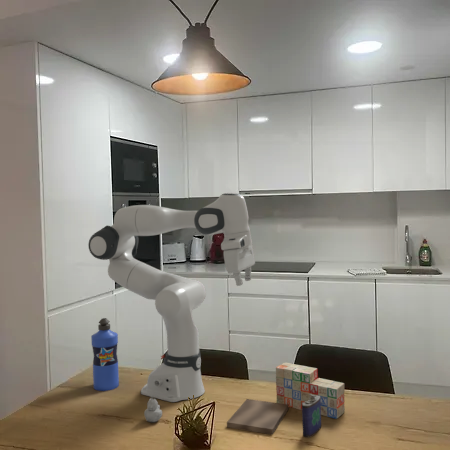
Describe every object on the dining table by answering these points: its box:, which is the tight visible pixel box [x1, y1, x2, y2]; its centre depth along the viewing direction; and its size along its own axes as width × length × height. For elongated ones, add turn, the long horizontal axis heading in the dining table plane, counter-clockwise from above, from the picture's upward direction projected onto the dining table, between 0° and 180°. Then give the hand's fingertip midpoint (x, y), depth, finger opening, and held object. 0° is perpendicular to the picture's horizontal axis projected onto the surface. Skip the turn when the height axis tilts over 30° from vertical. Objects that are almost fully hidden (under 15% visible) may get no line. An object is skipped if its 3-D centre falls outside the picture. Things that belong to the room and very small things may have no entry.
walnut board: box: [226, 398, 289, 435], centre depth 149 cm, size 14×18×2 cm
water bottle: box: [91, 317, 120, 392], centre depth 178 cm, size 9×9×25 cm
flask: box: [301, 394, 322, 438], centre depth 140 cm, size 9×3×11 cm, turn 144°
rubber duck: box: [143, 397, 163, 423], centre depth 149 cm, size 5×7×8 cm
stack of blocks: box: [275, 362, 346, 420], centre depth 156 cm, size 21×6×12 cm, turn 53°
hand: (244, 282), depth 160 cm, fingers open, 8 cm apart
